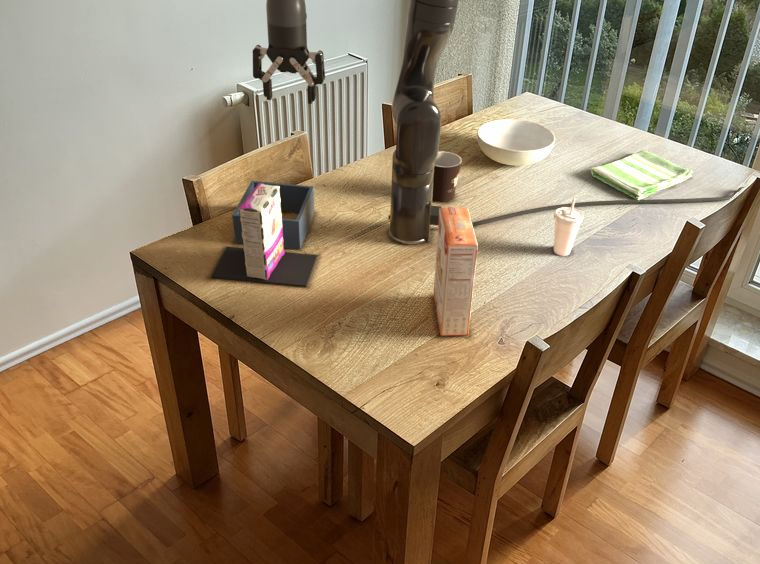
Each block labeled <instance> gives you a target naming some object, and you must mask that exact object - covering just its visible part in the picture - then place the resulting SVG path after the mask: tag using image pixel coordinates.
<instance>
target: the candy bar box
mask: <svg viewBox="0 0 760 564" xmlns="http://www.w3.org/2000/svg"><path fill="white" fill-rule="evenodd" d="M239 214H240V222H241V232H242V239H243V244H242V246H243V247H242V248H243V249H244V258H245V267H246V276H247V277H251V278H257V279H263V280H268V278H269V277H270V275H271V274H272V272H273V270H274V269H275V267H276V266H277V264H278V263H279V261H280V259H281V258H282V256H283V255H284V253H285V252H286V251H285V248H284V239H283V226H282V218H283V212H282V211H281V198H280V186H275V185H269V184H263V183H258V184H257V186H256V187H255V188H254V190H253V191H252V192H251V194H250V195H249V196H248V197H247V199H246V200H245V201H244V203H243V204H242V205H241V206H240V208H239Z"/></svg>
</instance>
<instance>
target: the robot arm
mask: <svg viewBox="0 0 760 564" xmlns="http://www.w3.org/2000/svg"><path fill="white" fill-rule="evenodd" d="M265 3H266V5H265V7H266V9H265V10H266V24H267V25H266V27H267V40H268V41H267V43H268V45H267V46H268V47H263V46H261V45H260V44H256V45H255V46H254V48H253V49H252V77H253V78H254V79H259V80H261V82H262V92H263V96H264V98H266V100H267V101H271V100H272V99H273V84H272V83H273V80H272V76H273V75H274V74H275V72H276V71H278V72H280V73H290V74H297V73H298V74H299V76H300V77H301V78H302V79H303V80H305V82H306V83H307V105H312V104H313V102H315V100H316V98H317V85H322V84H323V83H324V81H325V79H326V70H325V58H324V51H322V50H318V51H309V49H308V34H307V19H308V16H307V6H306V1H305V0H266V2H265ZM458 6H459V0H409V4H408V12H407V18H406V25H405V26H406V27H405V35H404V45H403V56H402V63H401V68H400V72H399V76H398V80H397V82H396V83H397V84H396V87H395V91H394V95H393V99H392V104H391V114H392V118H393V121H394V123H395V125H396V140H395V141H396V142H395V143H396V144H395V150H394V151H393V152H392V158H391V159H392V161H391V184H390V185H391V186H390V207H389V208H390V211H389V212H390V213H389V215H388V220H389V229H388V235H389V237H390V238H391V240H393V241H395V242H397V243H400V244H403V245H418V244H419V245H420V244H423V243H429V241H430V237H431V228H432V227H431V226H438V220H439V208H442V206H441V205H433V202H434V201H433V181H434V167H435V160H436V158H437V156H438V152H439V151H440V142H441V141H440V140H441V132H442V131H441V130H442V114H441V111H440V109H439V108H440V107H438V105H437V103H436V101H435V99H434V93H435V92H434V91H435V81H436V73H437V68H438V63H439V61H440V58H441V56H442V54H443V53H444V51H445V48H446V47H447V45H448V42H449V40H450V38H451V35H452V32H453V29H454V25H455V21H456V16H457V11H458ZM265 55H266V56H267V58H268V59H269V60H270V62H271V63H272V64H271V65H270V66H269V68H268V69H267V70H266V71H263V67H262V65H263V63H262V60H263V59H264V58H265ZM309 59H310V60H311V62H312V63H313V64H314V65H315V72H316V76H315V75H314V74H313V72H312V70H311V68H310V66H309V65H308V64H307V62H308V61H309ZM744 187H745V186H741V187H739V188H737V189H736V191H734V192H733V193H732V194H730V195H727V196H717V197H697V198H695V197H694V198H663V199H661V198H660V199H658V198H657V199H656V198H655V199H654V198H653V199H641V200H637V199H617V200H616V199H615V200H595V201H581V202H575V203H574V208H575V207H585V206H602V205H603V206H604V205H624V204H625V205H628V204H629V205H630V204H635V205H636V204H677V203H678V204H679V203H701V202H704V203H705V202H723V201H728V200H731V199H730V198H732V197H733V196H734V195H735V194H736V193H737V192H739V191H740V190H741V189H742V188H744ZM732 199H733V198H732ZM571 205H572V202H570V203H562V204H555V205H554V204H553V205H548V206H542V207H535V208H530V209H525V210H520V211H515V212H511V213H507V214H503V215H500V216H495V217H492V218H487V219H483V220H478V221H473V222H472V225H473V227H476V226H481V225H487V224H491V223H493V222H497V221H502V220H505V219H511V218H514V217H519V216H522V215H528V214H533V213H538V212H544V211H545V212H546V211H551V210H557V209H558V208H561V207H571Z"/></svg>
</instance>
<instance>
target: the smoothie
mask: <svg viewBox="0 0 760 564" xmlns="http://www.w3.org/2000/svg"><path fill="white" fill-rule="evenodd" d="M576 197H577V196H573V197H572V200H571V203H572V205H571V207H561V208H558V209H555V210H554V214H553V218H554V219H555V220H554V236H553V237H554V240H553V252H554V254H556V255H558V256H561V257H562V256H563V257H566V256H568V255H570V254H571V251H572V248H573V245H574V243H575V240H576V237H577V234H578V232H579V229H580V225H581V223H583V220H584V213H583V212H582V211H581V210H579V209H577V208H575V207H574V203H576Z"/></svg>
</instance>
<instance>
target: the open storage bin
mask: <svg viewBox="0 0 760 564" xmlns="http://www.w3.org/2000/svg"><path fill="white" fill-rule="evenodd" d="M258 183H263V184H269V185H275V186H280V198H281V212H282V213H291V214H292V213H294V214H298V215H297V217H296V219H294V218H283V217H282V226H283V239H284V249H292V250H301V249H302V246H303V244H304V241H305V238H306V235H307V233H308V231H309V229H310V226H311V222H312V220H313V218H314V215H315V187H314V185H304V184H303V185H302V184H293V183H281V182H271V181H260V180H259V181H258V180H250V183H249V184H248V186H247V188H246V189H245V192H244V194H243V195H242V197H241V199H240V201H239V202H238V204H237V206H236V208H235V210H234V211H233V213H232V215H231V216H232V227H233V237H234V244H241V245H243V239H242V232H241V222H240V214H239V208H240V206H241V205H242V204H243V203H244V201H245V200H246V199H247V197H248V196H249V195H250V194H251V192H252V191H253V190H254V188H255V187H256V186H257V184H258Z"/></svg>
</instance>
